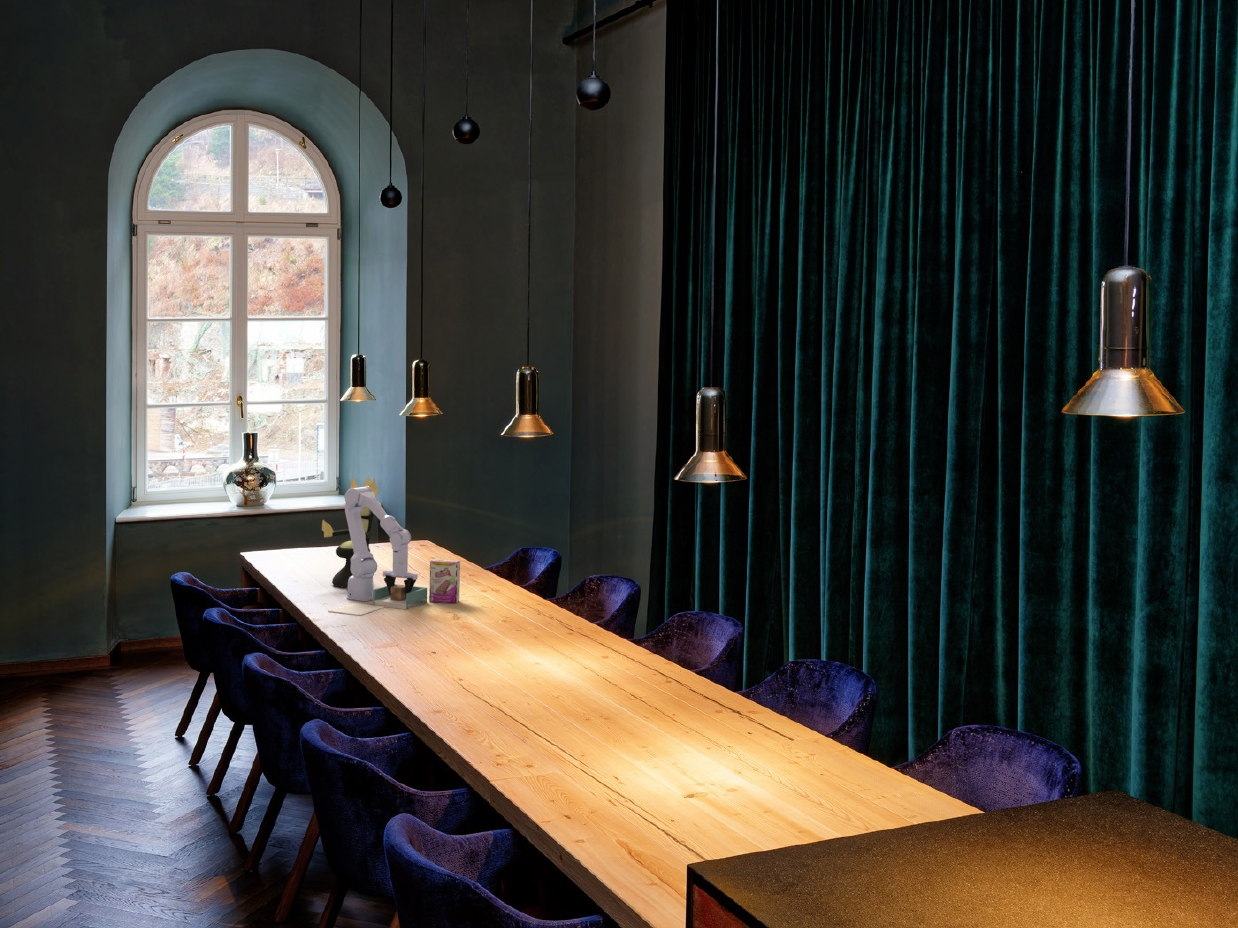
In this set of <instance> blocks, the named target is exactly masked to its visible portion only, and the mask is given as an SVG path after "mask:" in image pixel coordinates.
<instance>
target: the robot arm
mask: <svg viewBox="0 0 1238 928" xmlns="http://www.w3.org/2000/svg"><path fill="white" fill-rule="evenodd" d="M343 498H344V502H345V504H344V513H345V517H346V518H345V519H346V521H347V526H348V529H349V532H350V534H349V536H350V541H352V546H353V551H354V555H353V556H352V558H351V568H350V569H351V573H352V574H353V576H351V577H350V578H349V580H348V588H347V597H346V600H354V601H362V602H368V601H371V600H372V601H373V590H374V576H375V573H376V572H377V570H378V563H377V561H376V560H375V557H374V554H373V553H372V552H371V551H370V552H369V551H368V548H367V543H366V539H365V534H364V529H363V525H362V520H361V515H360V511H361V509H362V508H363V507H364V506H366V507H368V508H369V509H370V510H371V511H372V512H373V513H374V515H375V516H376V518H377V519H378V520H379V522H380V523H379V525H380V527H381V528H382V529H383V530H384V532H385V533H386V534H387V535H388V537H389V543H390V544H391V549H392V570H382V577H384V578H383V581H384V583H385V586H387V587H388V590H389V595H390V596H391V587H393V586H395V584H396V580H397V578H398V579H404V580H403V582H404V585H405V596H406V594H407V593H410V592H411V591H412V588H413V586H414V585H415V583H416V582H417V580H418V578H419V577H418V573H413V572H409V571H408V570H409V569H408V567H409V566H408V564H409V563H408V562H409V561H408V559H409V544H410V543H411V541H412V535H411V533H410V531H409V530H408V529H404V528H403V526H401V525H400V524H399V523H398V521H397V520H396V517H395V516H392V515H388V514H387V513H386V511H385V509H384V508H383V507H382V505H381V504H380V502H379V501H378V499H377V498H375V493H374V492H373V491H372V490H371V488H369V487H367V486H365V487H364V486H361V487H360V486H359V487H358V488H348V489H347V490H346V492H345V493H344V495H343Z"/></svg>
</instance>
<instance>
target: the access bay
mask: <svg viewBox="0 0 1238 928" xmlns="http://www.w3.org/2000/svg"><path fill="white" fill-rule="evenodd" d="M396 585H400V584H398V583H397V584H396V583H395V586H396ZM425 604H428V587H424V586H423V587H422V586H413V588H412V591H411V592H410V593H407V594H406V599H405V600H402V601H395V600H391V596H390V595H389V590H388V587H387V585H384V586H382V587H378V588H375V589H374V588H373V599H372V605H373V606H381V607H384V608H394V609H402V610H410V609H414V608H416V607H419V606H422V605H425Z"/></svg>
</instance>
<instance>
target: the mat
mask: <svg viewBox="0 0 1238 928" xmlns="http://www.w3.org/2000/svg"><path fill="white" fill-rule="evenodd" d="M384 608H385V607H384V606H376V605H373V604H366V603H365V604H363V603H357V602H352V603H349V604H346V605H343V606H338V607H337V608H333V609H329V610H328V613H334V614H335V613H336V614H343V615H351V616H356V617H357V616H359V617H361V616H363V615H366V614H370V613H372V612H376V611H379V610H382V609H384Z"/></svg>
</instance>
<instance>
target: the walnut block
mask: <svg viewBox="0 0 1238 928" xmlns="http://www.w3.org/2000/svg"><path fill="white" fill-rule="evenodd" d="M405 599H406V596H405V584H399V585H396V586H393V587H391V600H395V601H402V600H405Z"/></svg>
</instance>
